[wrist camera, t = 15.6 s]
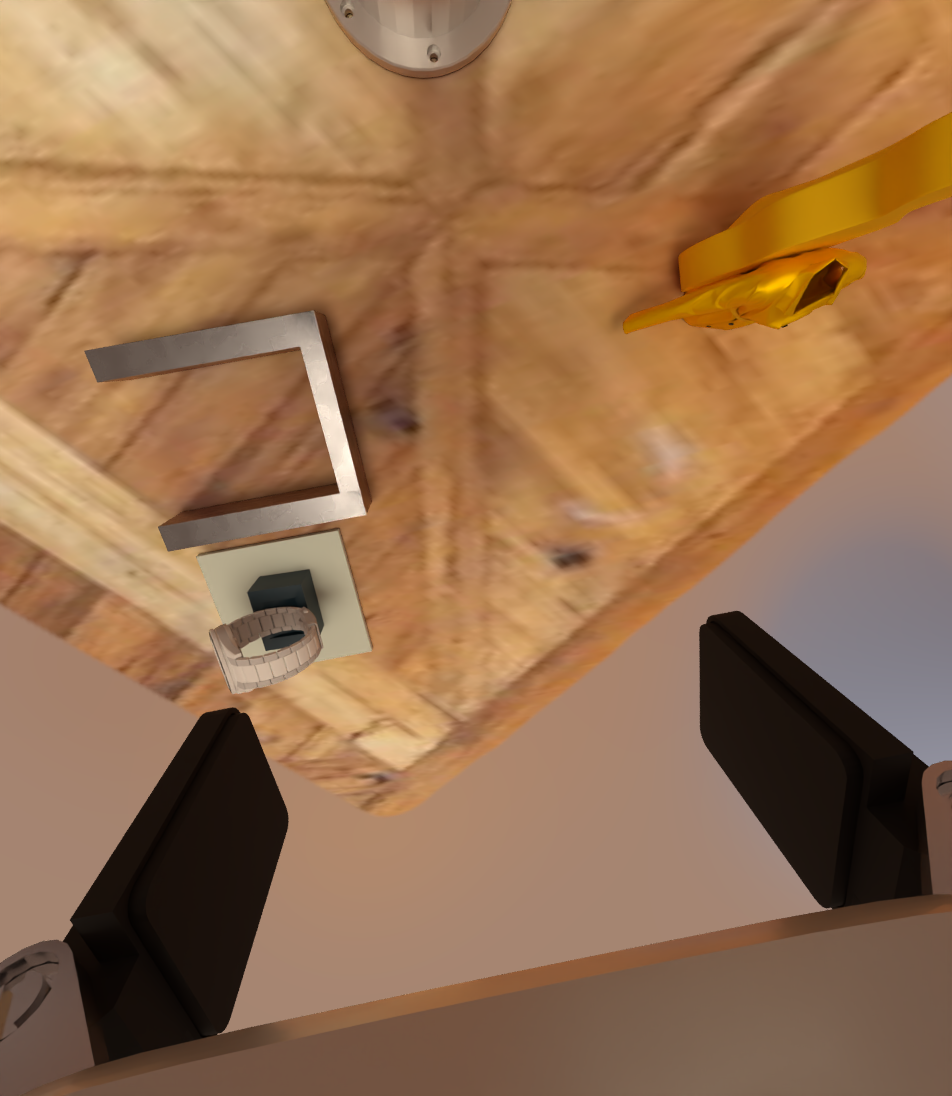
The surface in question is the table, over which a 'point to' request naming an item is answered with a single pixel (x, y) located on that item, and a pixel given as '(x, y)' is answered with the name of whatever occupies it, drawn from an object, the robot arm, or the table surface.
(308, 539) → the sage mat
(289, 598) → the watch
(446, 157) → the table surface
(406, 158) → the table surface
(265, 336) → the u-shaped metal bracket
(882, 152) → the figure statuette
